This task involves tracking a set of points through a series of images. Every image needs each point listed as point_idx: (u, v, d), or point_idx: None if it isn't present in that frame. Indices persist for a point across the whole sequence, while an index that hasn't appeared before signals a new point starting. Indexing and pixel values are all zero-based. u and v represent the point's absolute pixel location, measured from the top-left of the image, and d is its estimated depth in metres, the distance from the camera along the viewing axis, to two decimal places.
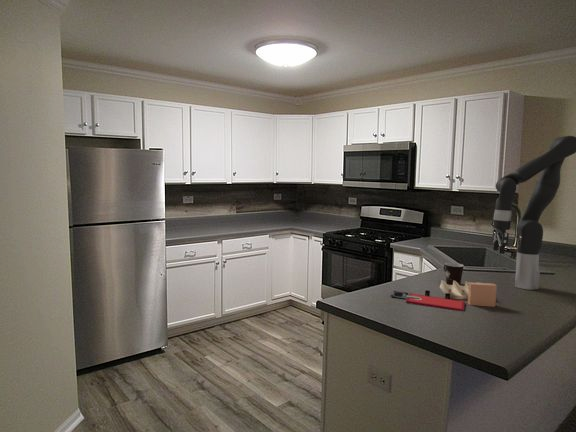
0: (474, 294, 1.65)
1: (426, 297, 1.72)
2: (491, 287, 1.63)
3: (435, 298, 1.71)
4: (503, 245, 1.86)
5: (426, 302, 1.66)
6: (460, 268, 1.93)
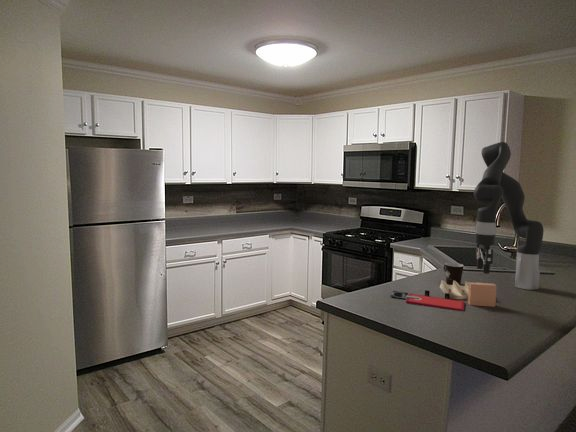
0: (474, 294, 1.65)
1: (426, 297, 1.72)
2: (491, 287, 1.63)
3: (435, 298, 1.71)
4: (487, 264, 1.58)
5: (426, 302, 1.66)
6: (460, 268, 1.93)
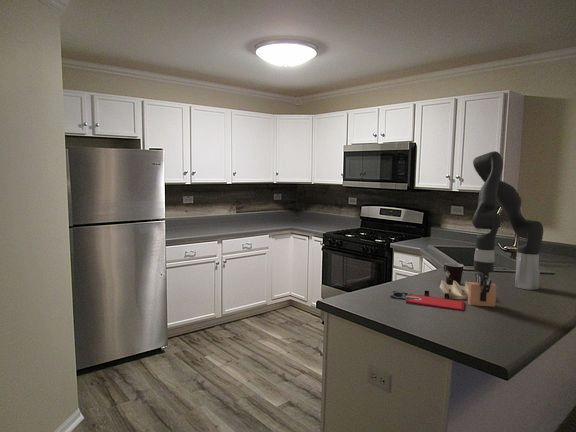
0: (474, 294, 1.64)
1: (426, 297, 1.72)
2: (491, 287, 1.63)
3: (435, 298, 1.71)
4: None
5: (426, 302, 1.66)
6: (460, 268, 1.93)
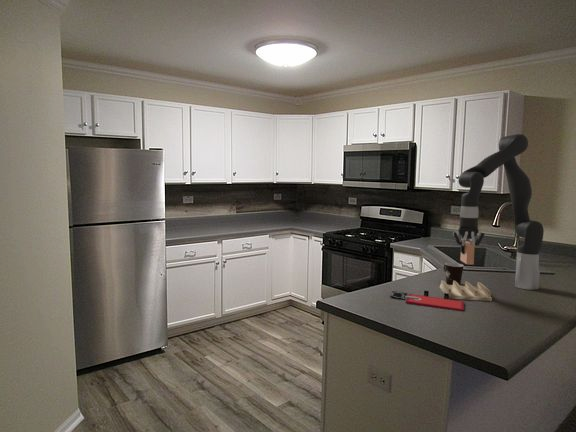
0: None
1: (425, 297, 1.71)
2: (466, 246, 1.76)
3: (434, 298, 1.70)
4: None
5: (426, 302, 1.65)
6: (460, 268, 1.93)
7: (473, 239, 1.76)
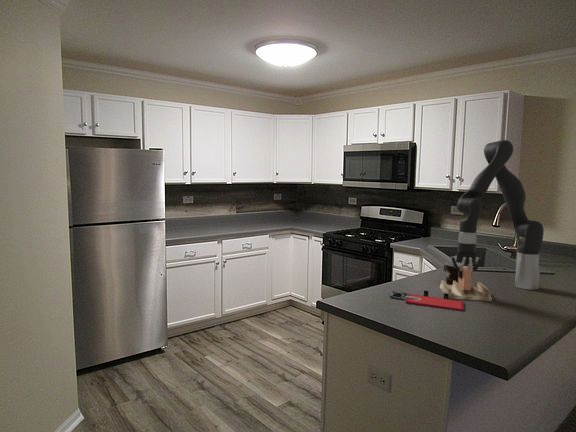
0: None
1: (425, 297, 1.71)
2: (463, 271, 1.78)
3: (434, 298, 1.70)
4: None
5: (426, 302, 1.65)
6: None
7: (471, 264, 1.78)
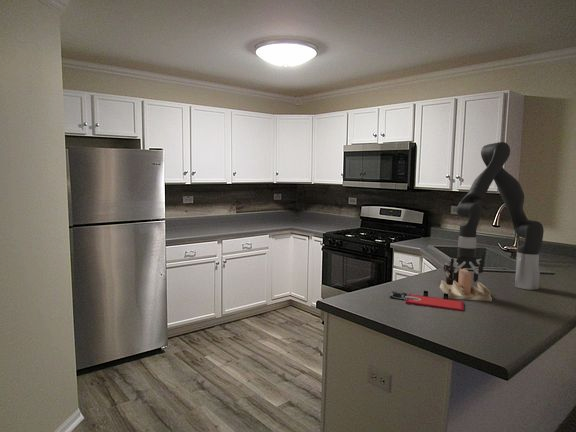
0: (459, 278, 1.84)
1: (425, 297, 1.71)
2: (463, 275, 1.77)
3: (434, 298, 1.70)
4: (451, 270, 1.81)
5: (426, 302, 1.65)
6: None
7: (474, 268, 1.78)
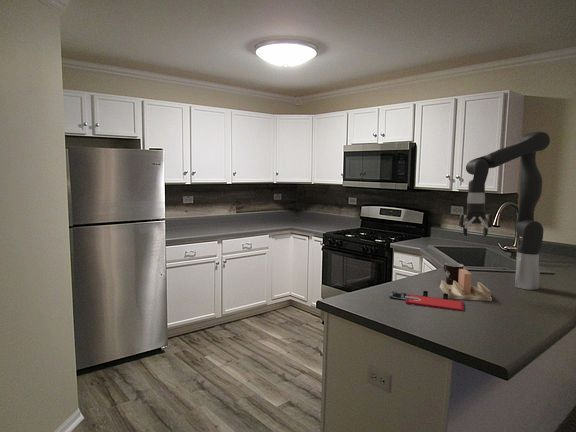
0: (459, 278, 1.84)
1: (425, 298, 1.71)
2: (463, 275, 1.77)
3: (434, 298, 1.70)
4: None
5: (426, 302, 1.65)
6: (460, 268, 1.93)
7: (484, 222, 1.84)
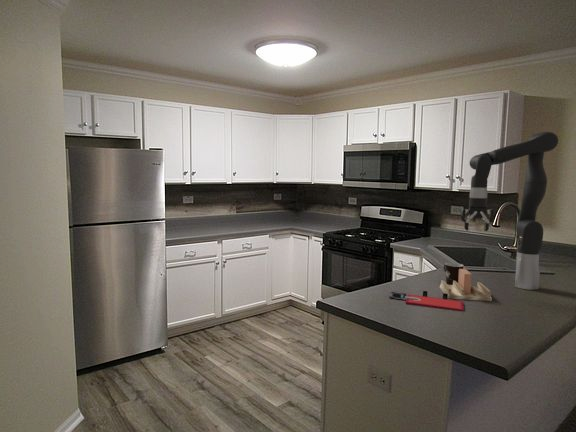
0: (459, 278, 1.84)
1: (424, 298, 1.71)
2: (463, 275, 1.77)
3: (434, 298, 1.70)
4: None
5: (425, 302, 1.65)
6: (460, 268, 1.93)
7: (485, 217, 1.86)
